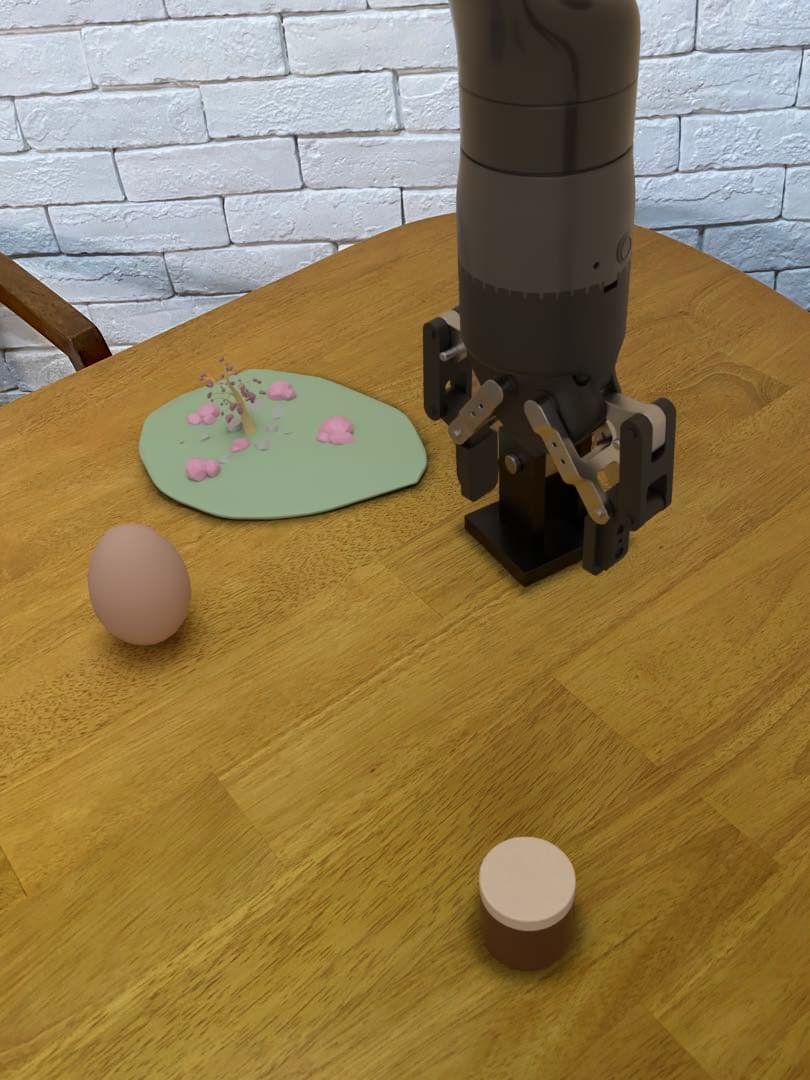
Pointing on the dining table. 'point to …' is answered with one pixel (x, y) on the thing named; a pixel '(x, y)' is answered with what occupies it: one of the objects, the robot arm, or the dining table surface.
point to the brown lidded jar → (526, 902)
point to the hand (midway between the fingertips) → (538, 527)
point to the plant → (278, 446)
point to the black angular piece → (531, 513)
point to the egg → (138, 584)
